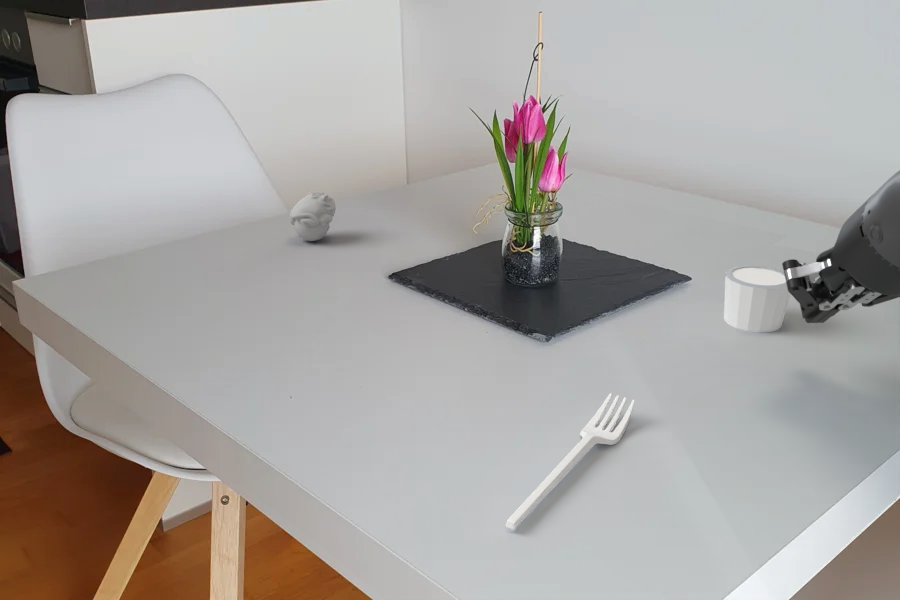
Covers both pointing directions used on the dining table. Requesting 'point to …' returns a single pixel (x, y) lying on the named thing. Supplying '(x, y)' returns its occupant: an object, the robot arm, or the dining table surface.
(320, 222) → the frog figurine
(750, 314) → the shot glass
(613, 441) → the fork
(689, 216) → the dining table surface
